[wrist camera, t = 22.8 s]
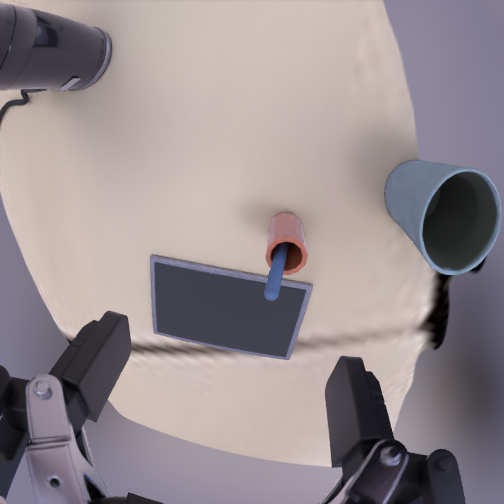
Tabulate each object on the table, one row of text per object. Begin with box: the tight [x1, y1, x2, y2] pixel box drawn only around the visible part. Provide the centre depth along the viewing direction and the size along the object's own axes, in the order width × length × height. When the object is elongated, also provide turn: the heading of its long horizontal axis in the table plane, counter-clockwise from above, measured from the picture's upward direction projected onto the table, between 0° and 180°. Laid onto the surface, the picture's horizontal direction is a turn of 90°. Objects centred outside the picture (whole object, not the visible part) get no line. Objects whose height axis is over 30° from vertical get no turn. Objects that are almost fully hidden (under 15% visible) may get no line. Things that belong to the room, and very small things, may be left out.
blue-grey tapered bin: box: [385, 160, 501, 275], centre depth 25 cm, size 10×10×12 cm
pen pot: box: [266, 212, 308, 275], centre depth 31 cm, size 4×4×8 cm
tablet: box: [150, 255, 313, 360], centre depth 40 cm, size 22×14×1 cm, turn 82°
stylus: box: [264, 241, 289, 301], centre depth 29 cm, size 1×1×13 cm
